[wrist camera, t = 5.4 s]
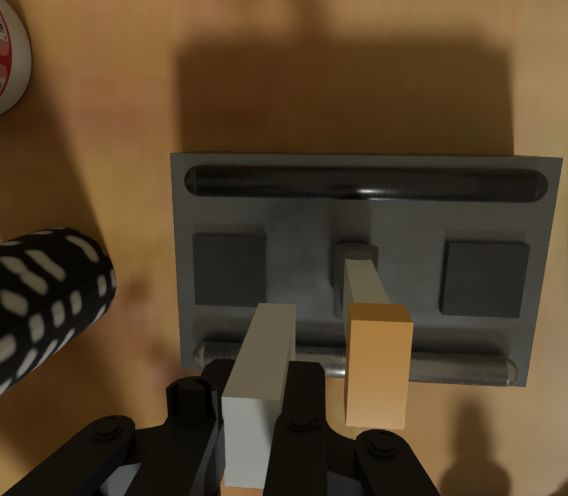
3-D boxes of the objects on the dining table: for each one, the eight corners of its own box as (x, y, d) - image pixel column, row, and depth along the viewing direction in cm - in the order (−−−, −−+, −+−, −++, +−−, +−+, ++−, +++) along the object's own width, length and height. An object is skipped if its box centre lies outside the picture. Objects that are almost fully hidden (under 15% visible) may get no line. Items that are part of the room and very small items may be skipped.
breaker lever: (332, 305, 26) (340, 425, 15) (334, 242, 25) (345, 320, 14) (371, 307, 26) (409, 429, 15) (376, 243, 25) (419, 322, 14)
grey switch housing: (205, 330, 34) (172, 383, 26) (198, 151, 31) (158, 153, 23) (488, 343, 32) (540, 404, 25) (514, 154, 29) (582, 158, 21)
